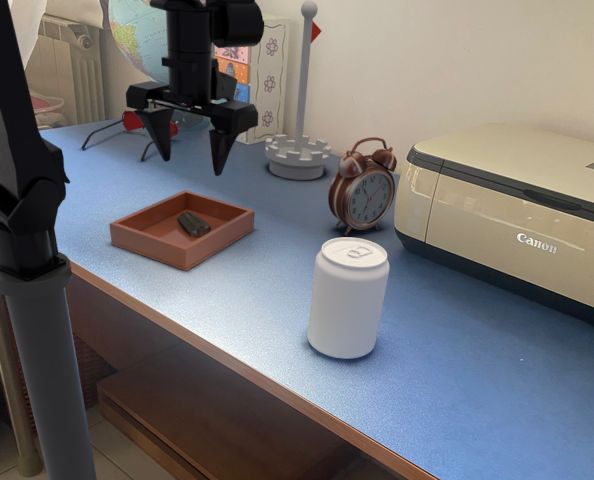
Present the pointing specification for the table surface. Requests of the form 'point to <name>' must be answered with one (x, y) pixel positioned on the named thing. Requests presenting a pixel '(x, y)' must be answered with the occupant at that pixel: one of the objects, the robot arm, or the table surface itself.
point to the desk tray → (181, 229)
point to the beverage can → (347, 297)
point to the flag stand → (300, 122)
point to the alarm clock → (363, 187)
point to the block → (193, 224)
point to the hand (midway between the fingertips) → (192, 167)
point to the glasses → (134, 127)
